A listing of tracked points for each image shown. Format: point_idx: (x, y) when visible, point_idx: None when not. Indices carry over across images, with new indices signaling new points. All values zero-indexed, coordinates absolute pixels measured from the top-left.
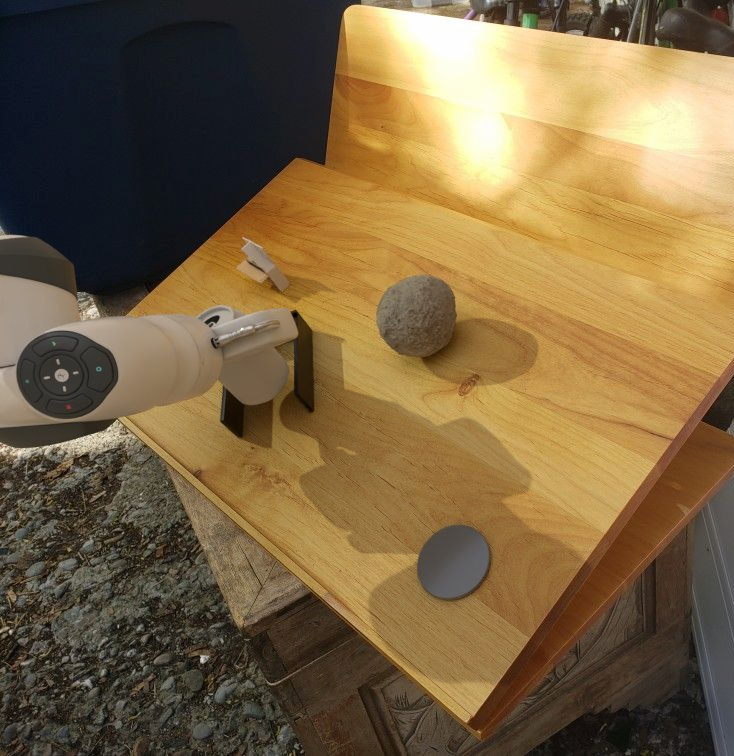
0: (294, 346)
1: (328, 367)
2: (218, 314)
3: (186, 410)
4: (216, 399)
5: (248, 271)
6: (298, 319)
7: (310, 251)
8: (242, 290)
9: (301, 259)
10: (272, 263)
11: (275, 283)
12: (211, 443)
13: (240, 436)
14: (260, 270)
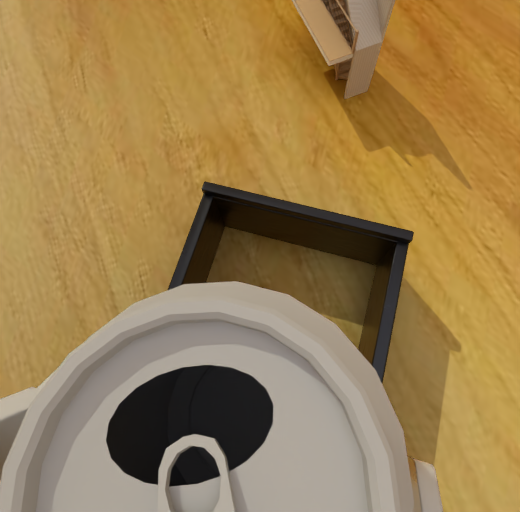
0: (375, 363)
1: (400, 409)
2: (269, 382)
3: (59, 277)
4: (125, 297)
5: (311, 15)
6: (404, 262)
7: (433, 34)
8: (267, 41)
9: (408, 43)
10: (380, 31)
11: (350, 79)
12: None
13: None
14: (340, 30)
